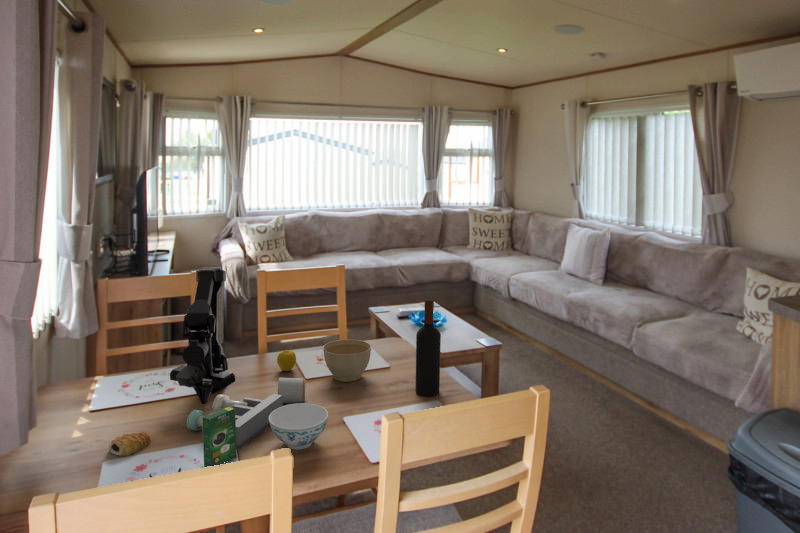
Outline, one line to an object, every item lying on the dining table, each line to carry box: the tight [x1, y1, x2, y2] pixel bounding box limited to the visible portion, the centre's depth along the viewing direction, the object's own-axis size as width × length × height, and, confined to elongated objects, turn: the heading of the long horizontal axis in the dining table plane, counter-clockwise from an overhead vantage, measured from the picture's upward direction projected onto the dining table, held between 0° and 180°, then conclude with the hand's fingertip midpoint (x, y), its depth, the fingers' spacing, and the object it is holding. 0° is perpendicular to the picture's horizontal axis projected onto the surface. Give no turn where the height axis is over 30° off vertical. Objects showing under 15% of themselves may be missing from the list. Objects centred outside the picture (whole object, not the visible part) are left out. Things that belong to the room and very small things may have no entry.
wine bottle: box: [414, 298, 442, 398], centre depth 177 cm, size 8×8×30 cm
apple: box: [276, 349, 297, 372], centre depth 197 cm, size 6×6×8 cm
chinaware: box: [269, 402, 329, 450], centre depth 146 cm, size 15×15×8 cm
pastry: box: [108, 432, 152, 457], centre depth 144 cm, size 9×7×4 cm
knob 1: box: [186, 409, 207, 432], centre depth 152 cm, size 9×5×5 cm, turn 71°
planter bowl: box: [322, 339, 372, 383], centre depth 191 cm, size 16×16×11 cm
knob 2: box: [212, 393, 248, 412], centre depth 162 cm, size 9×5×5 cm, turn 71°
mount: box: [232, 393, 283, 450], centre depth 155 cm, size 11×21×6 cm, turn 161°
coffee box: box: [202, 406, 238, 468], centre depth 136 cm, size 8×3×13 cm, turn 147°
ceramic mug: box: [277, 377, 306, 405], centre depth 173 cm, size 11×8×8 cm
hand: (204, 404), depth 166 cm, fingers closed
